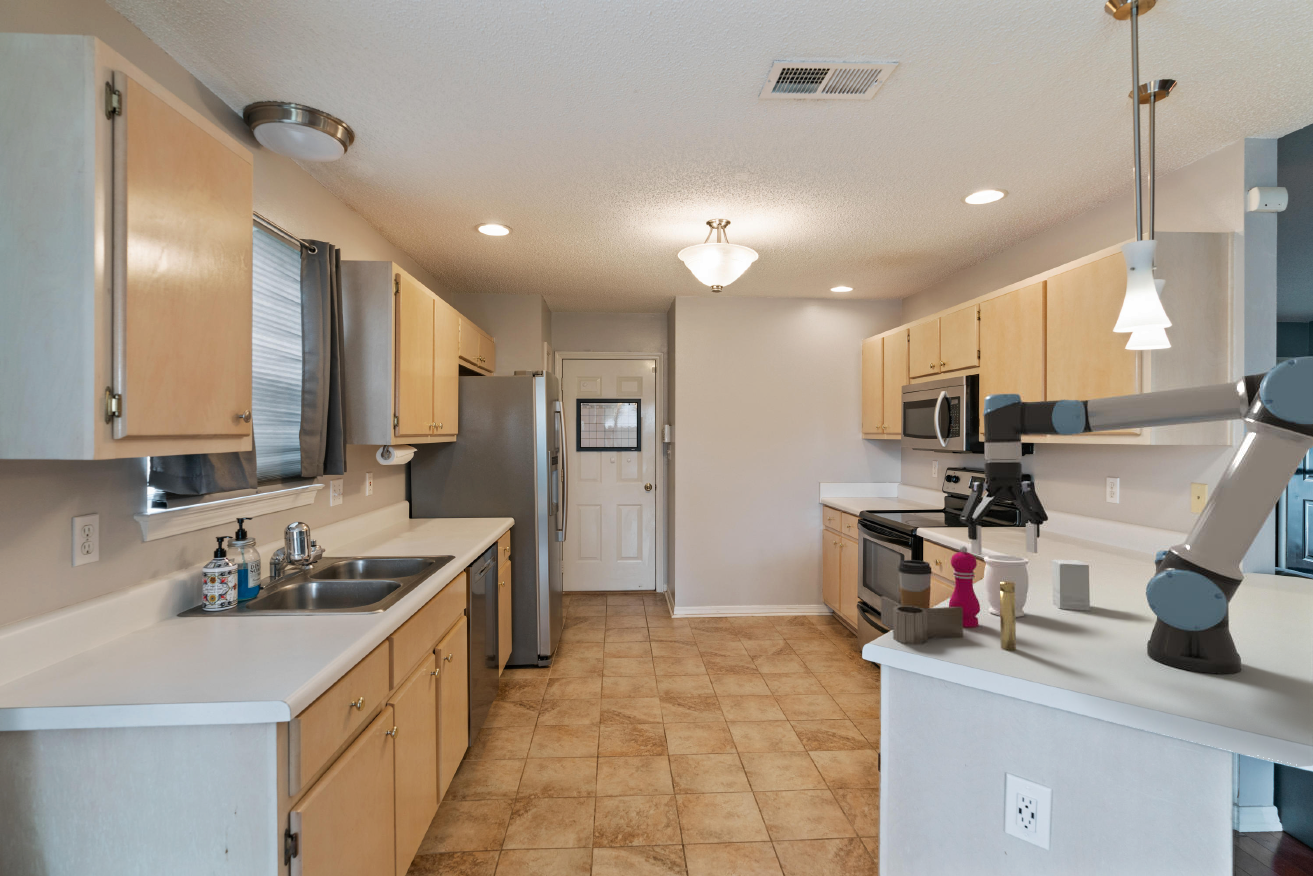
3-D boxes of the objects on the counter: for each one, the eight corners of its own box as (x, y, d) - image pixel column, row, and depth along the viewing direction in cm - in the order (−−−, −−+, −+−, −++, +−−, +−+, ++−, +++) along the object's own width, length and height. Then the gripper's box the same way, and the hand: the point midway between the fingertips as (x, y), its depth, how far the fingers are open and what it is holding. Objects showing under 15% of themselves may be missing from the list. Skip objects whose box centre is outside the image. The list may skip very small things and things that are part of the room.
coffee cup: (906, 613, 172) (906, 558, 172) (937, 619, 166) (937, 562, 166) (893, 619, 166) (892, 563, 166) (924, 626, 160) (923, 567, 160)
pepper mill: (984, 623, 162) (982, 545, 162) (975, 630, 157) (974, 549, 157) (954, 618, 167) (953, 543, 167) (945, 624, 161) (943, 546, 162)
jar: (1018, 608, 175) (1017, 554, 176) (1036, 619, 165) (1035, 562, 165) (978, 608, 177) (977, 554, 177) (994, 618, 166) (993, 561, 166)
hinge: (971, 641, 148) (971, 611, 148) (903, 645, 146) (903, 614, 146) (930, 620, 165) (930, 594, 165) (869, 624, 163) (869, 597, 163)
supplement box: (1090, 611, 172) (1089, 564, 172) (1059, 609, 174) (1058, 563, 175) (1082, 604, 179) (1081, 560, 179) (1052, 602, 181) (1051, 558, 182)
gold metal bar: (1019, 650, 141) (1017, 583, 141) (1006, 651, 141) (1005, 584, 141) (1009, 646, 144) (1008, 580, 144) (997, 646, 144) (996, 581, 144)
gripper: (1041, 459, 151) (1042, 548, 150) (942, 461, 148) (944, 551, 148) (1065, 460, 143) (1066, 554, 143) (961, 462, 141) (962, 557, 140)
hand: (1004, 553), depth 145 cm, fingers open, 13 cm apart
